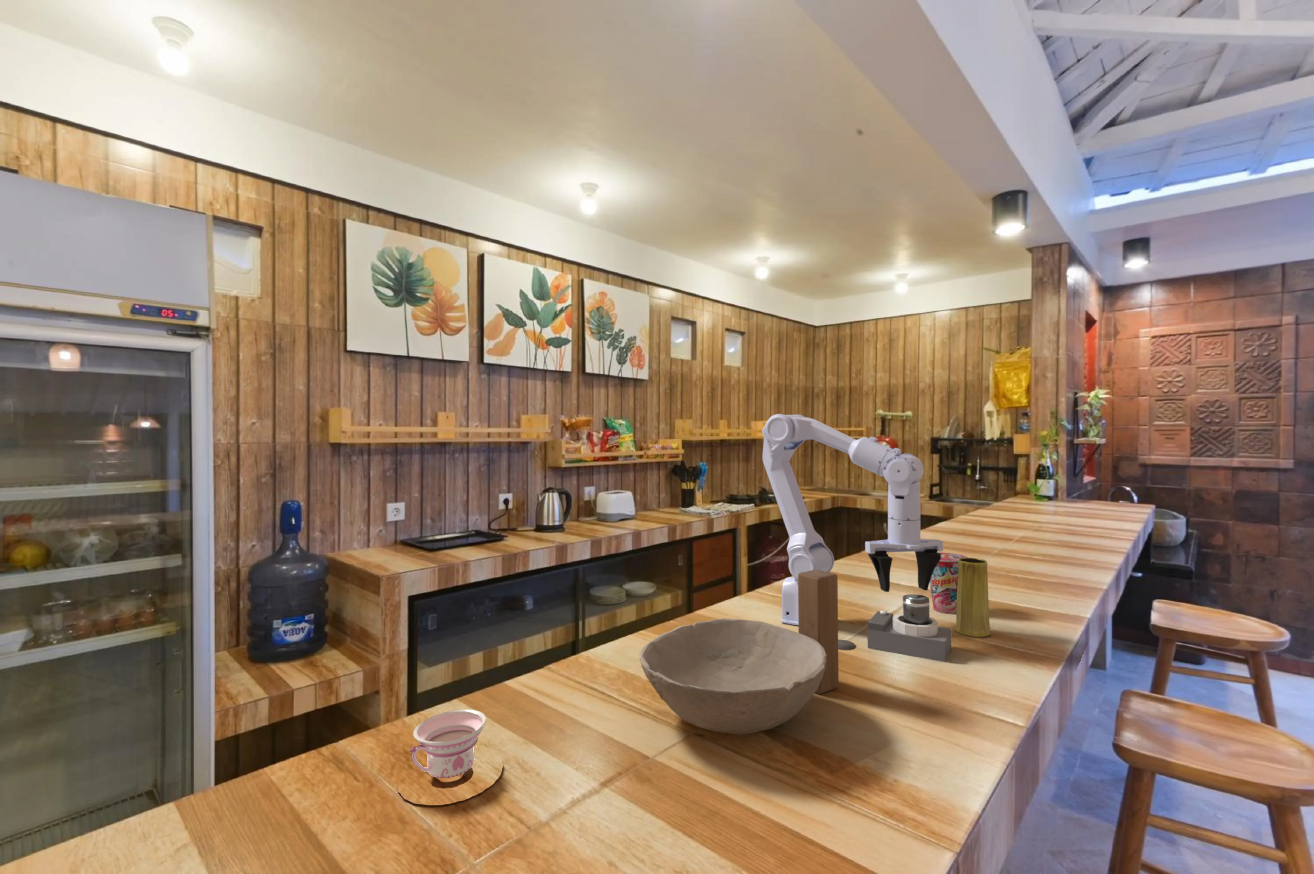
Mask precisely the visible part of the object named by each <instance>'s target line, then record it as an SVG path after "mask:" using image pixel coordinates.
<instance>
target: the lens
mask: <svg viewBox="0 0 1314 874" xmlns="http://www.w3.org/2000/svg"><path fill="white" fill-rule="evenodd" d="M930 602H931V601H930V598H929V597H928V596H926V595H923V594H915V593H913V594H911V593H909V594H905V595H903V596H902V614H903V622H904V623H907V624H913V625H928V624H930V617H931V616H930V606H931V605H930Z"/></svg>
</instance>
